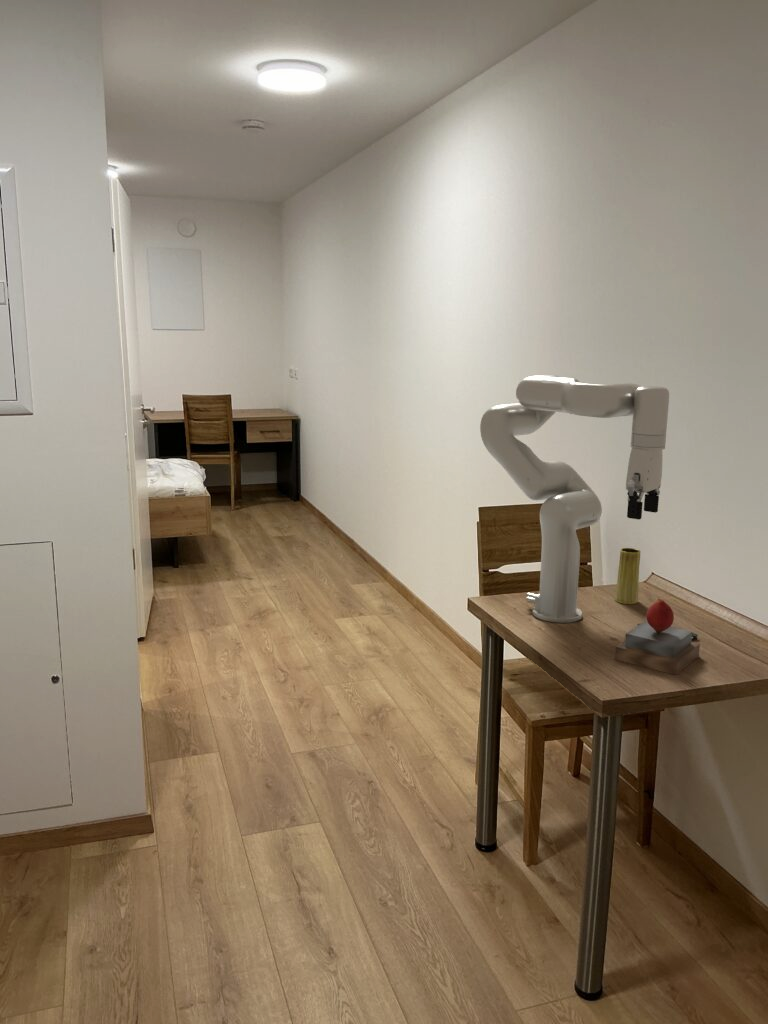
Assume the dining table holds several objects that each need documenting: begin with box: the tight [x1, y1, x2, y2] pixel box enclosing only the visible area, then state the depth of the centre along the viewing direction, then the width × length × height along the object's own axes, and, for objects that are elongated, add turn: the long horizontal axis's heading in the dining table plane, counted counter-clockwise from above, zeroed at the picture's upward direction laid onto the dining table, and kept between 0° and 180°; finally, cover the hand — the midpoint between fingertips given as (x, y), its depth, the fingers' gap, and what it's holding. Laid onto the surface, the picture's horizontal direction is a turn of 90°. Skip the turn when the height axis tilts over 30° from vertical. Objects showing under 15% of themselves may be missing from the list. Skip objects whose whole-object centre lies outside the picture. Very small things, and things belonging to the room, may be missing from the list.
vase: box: [614, 547, 641, 605], centre depth 235 cm, size 6×6×14 cm
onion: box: [645, 597, 675, 633], centre depth 195 cm, size 6×6×8 cm
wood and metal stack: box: [614, 620, 701, 676], centre depth 196 cm, size 14×14×6 cm
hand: (642, 515), depth 202 cm, fingers open, 9 cm apart
